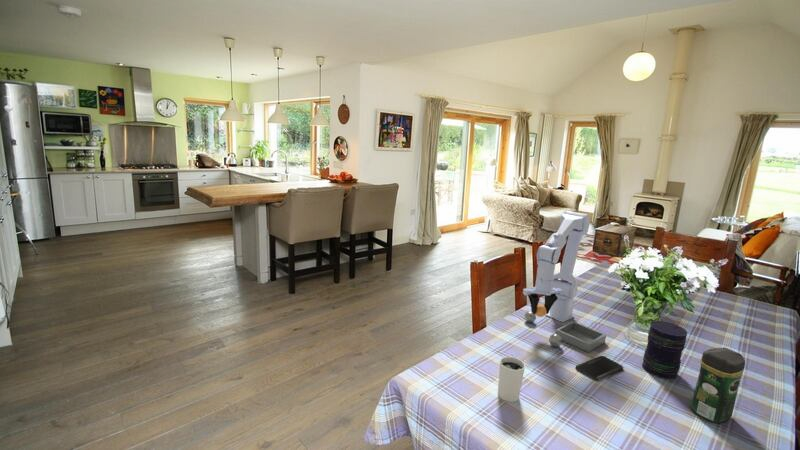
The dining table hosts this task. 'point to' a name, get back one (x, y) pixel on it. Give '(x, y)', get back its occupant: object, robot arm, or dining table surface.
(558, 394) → the dining table surface
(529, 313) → the steel ball
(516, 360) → the white cup
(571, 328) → the bin
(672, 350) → the storage jar
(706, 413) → the coffee jar
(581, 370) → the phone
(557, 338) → the steel ball
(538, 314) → the orange ball
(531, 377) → the dining table surface
